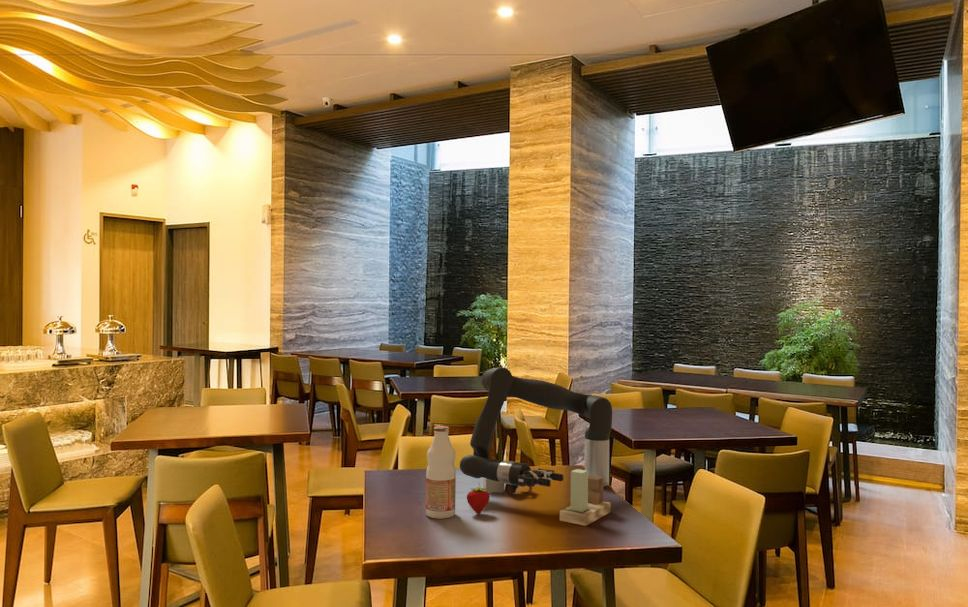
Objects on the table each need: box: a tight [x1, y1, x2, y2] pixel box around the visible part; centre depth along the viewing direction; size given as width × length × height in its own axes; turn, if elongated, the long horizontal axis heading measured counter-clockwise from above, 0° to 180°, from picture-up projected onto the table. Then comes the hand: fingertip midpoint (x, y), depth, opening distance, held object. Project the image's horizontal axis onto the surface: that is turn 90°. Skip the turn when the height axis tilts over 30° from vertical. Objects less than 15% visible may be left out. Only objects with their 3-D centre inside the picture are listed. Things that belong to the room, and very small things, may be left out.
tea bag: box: [482, 478, 505, 494], centre depth 248 cm, size 4×7×10 cm, turn 104°
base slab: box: [559, 476, 612, 527], centre depth 219 cm, size 18×9×11 cm, turn 145°
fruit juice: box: [425, 425, 457, 520], centre depth 219 cm, size 9×9×28 cm
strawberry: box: [466, 481, 490, 515], centre depth 220 cm, size 6×8×10 cm
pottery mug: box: [503, 484, 533, 495], centre depth 245 cm, size 12×10×8 cm
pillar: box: [570, 468, 588, 512], centre depth 215 cm, size 4×4×12 cm
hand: (556, 480), depth 220 cm, fingers open, 8 cm apart
